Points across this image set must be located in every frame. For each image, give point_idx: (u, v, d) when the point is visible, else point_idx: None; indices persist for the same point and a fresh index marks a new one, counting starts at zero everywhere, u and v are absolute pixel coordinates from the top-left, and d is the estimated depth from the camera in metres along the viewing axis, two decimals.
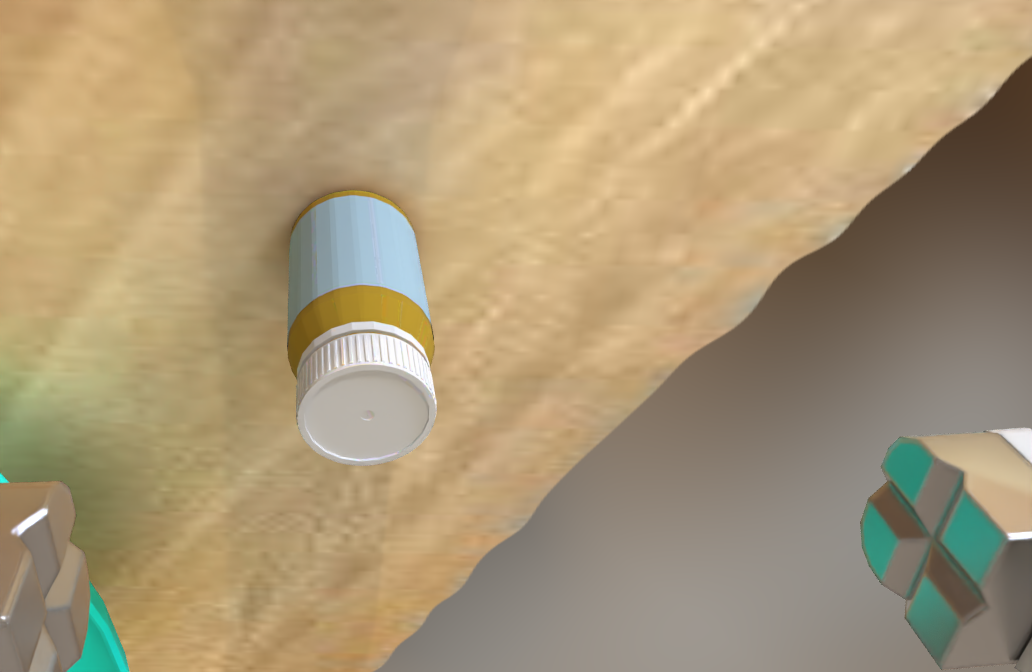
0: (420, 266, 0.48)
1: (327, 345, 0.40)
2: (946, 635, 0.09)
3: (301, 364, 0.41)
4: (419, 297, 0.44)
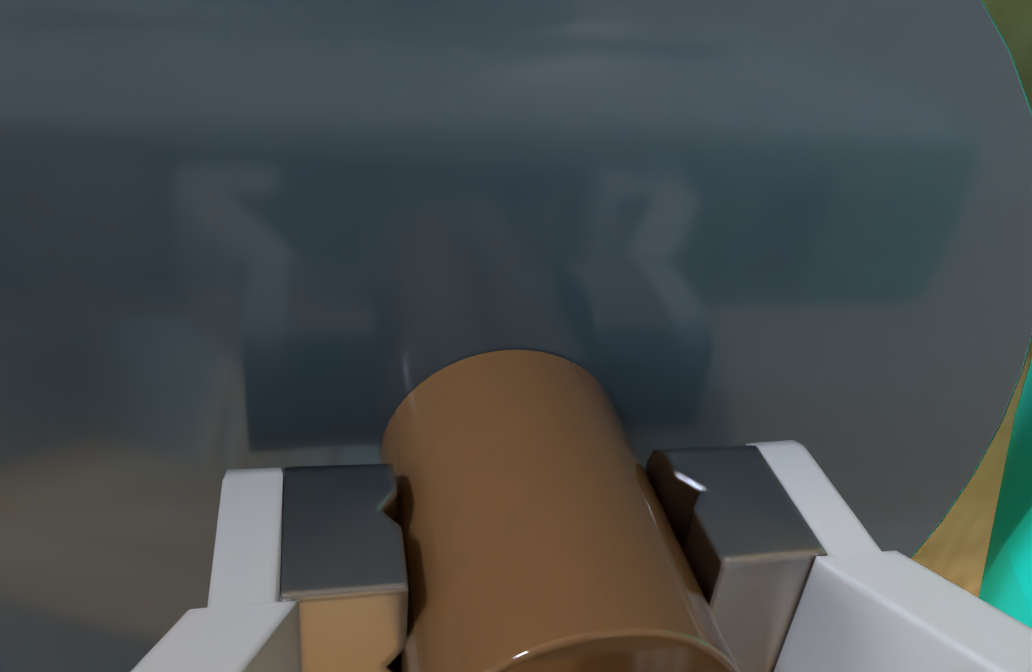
0: None
1: None
2: None
3: None
4: None
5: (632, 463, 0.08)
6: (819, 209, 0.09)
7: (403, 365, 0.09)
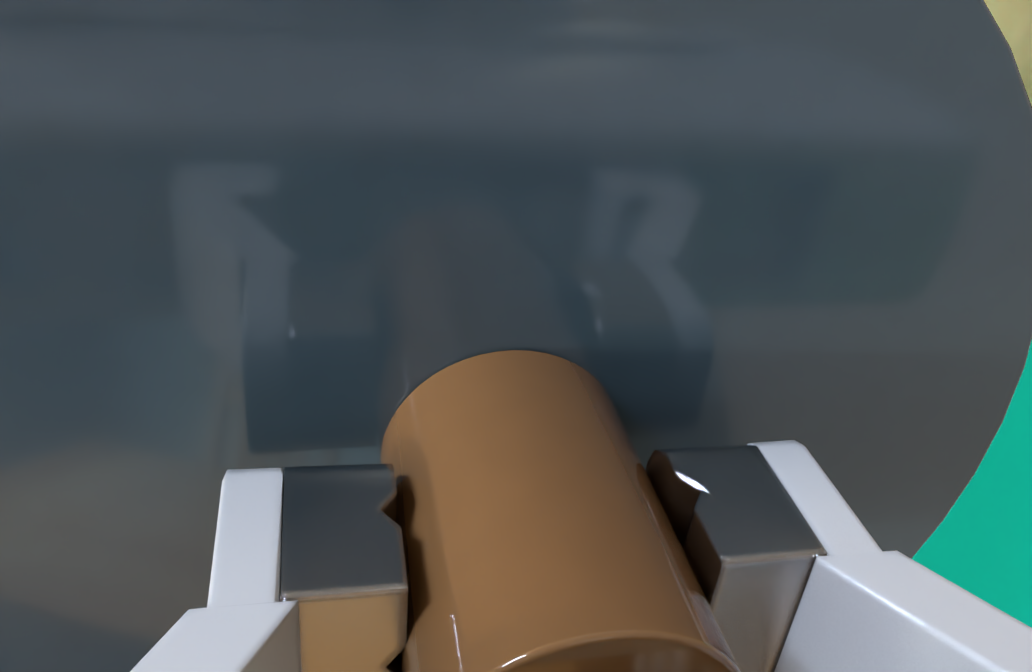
0: None
1: None
2: None
3: None
4: None
5: (633, 464, 0.08)
6: (820, 209, 0.09)
7: (403, 366, 0.09)
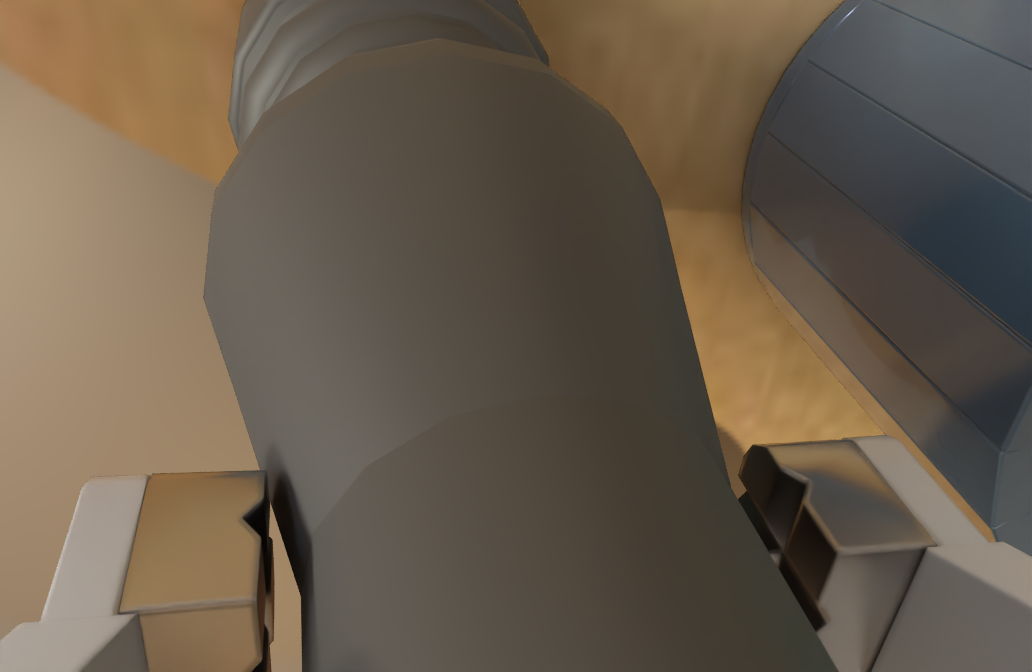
0: None
1: None
2: None
3: None
4: None
5: None
6: None
7: None
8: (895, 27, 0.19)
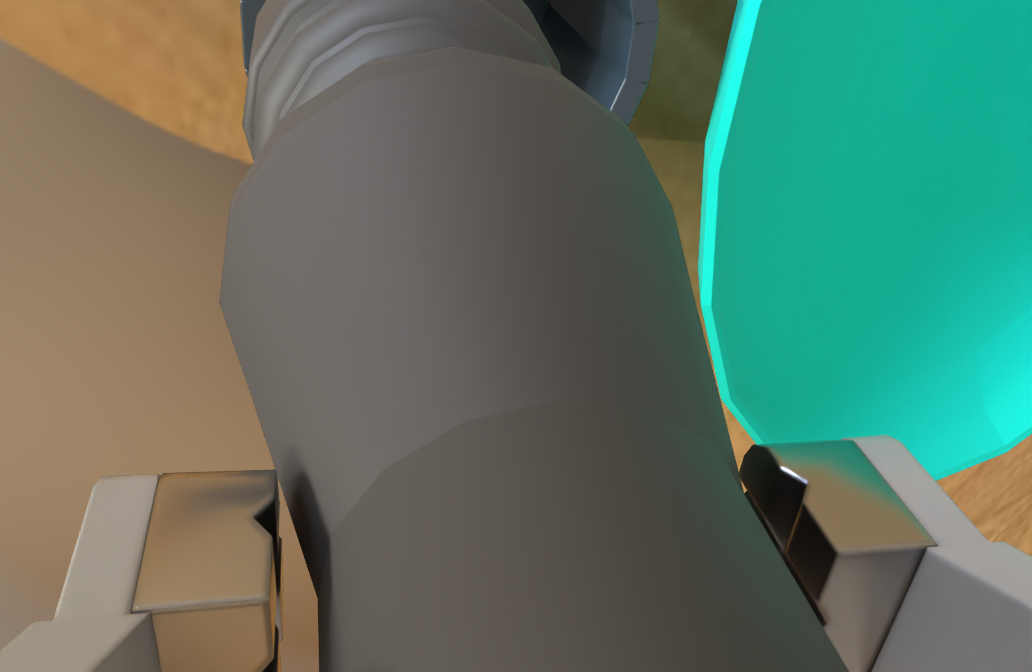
0: None
1: None
2: None
3: None
4: None
5: None
6: None
7: None
8: None
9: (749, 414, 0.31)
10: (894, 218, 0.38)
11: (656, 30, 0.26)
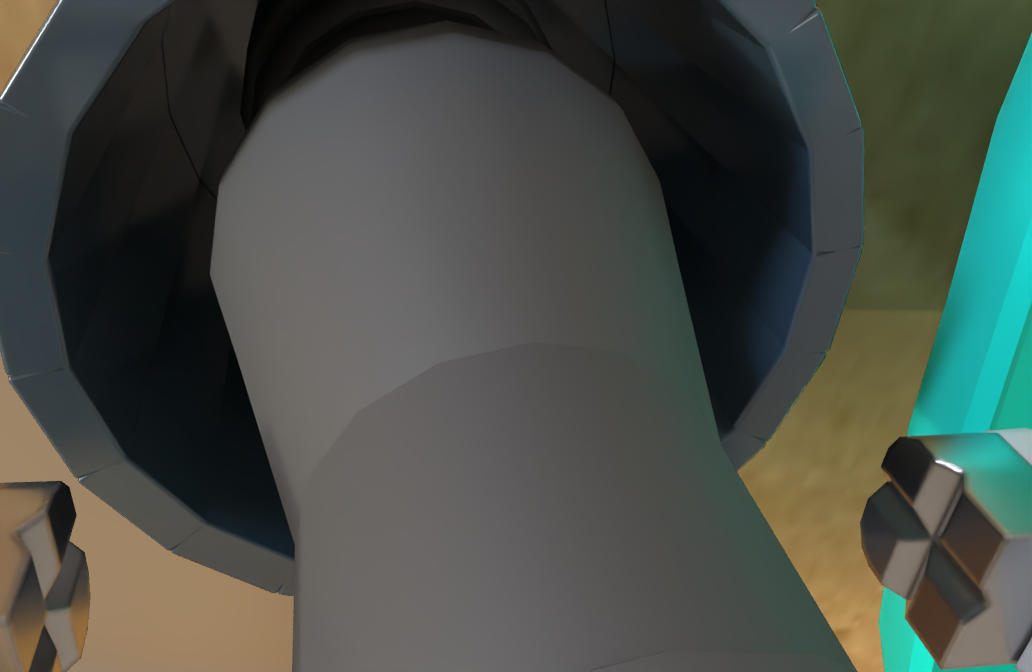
0: None
1: None
2: (946, 635, 0.09)
3: None
4: None
5: None
6: None
7: None
8: None
9: None
10: None
11: (855, 263, 0.13)
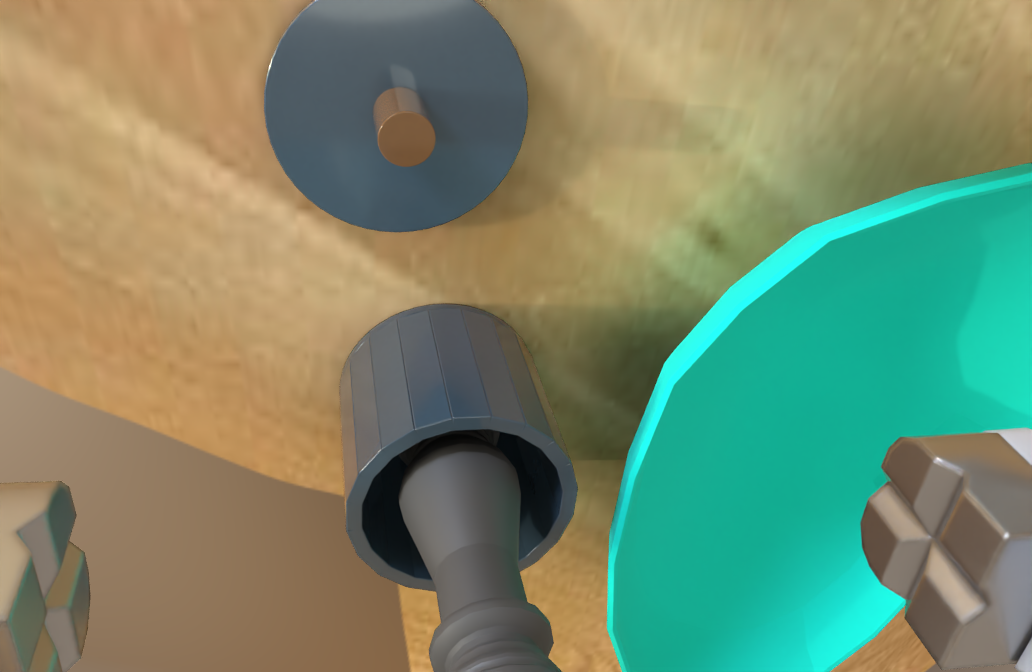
0: None
1: None
2: (946, 635, 0.09)
3: None
4: None
5: (422, 104, 0.42)
6: (464, 56, 0.42)
7: (377, 89, 0.42)
8: (367, 356, 0.49)
9: None
10: (749, 521, 0.58)
11: (576, 493, 0.46)
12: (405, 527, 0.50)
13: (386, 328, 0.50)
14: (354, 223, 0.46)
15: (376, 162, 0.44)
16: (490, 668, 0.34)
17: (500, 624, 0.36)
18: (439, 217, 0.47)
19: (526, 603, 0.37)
